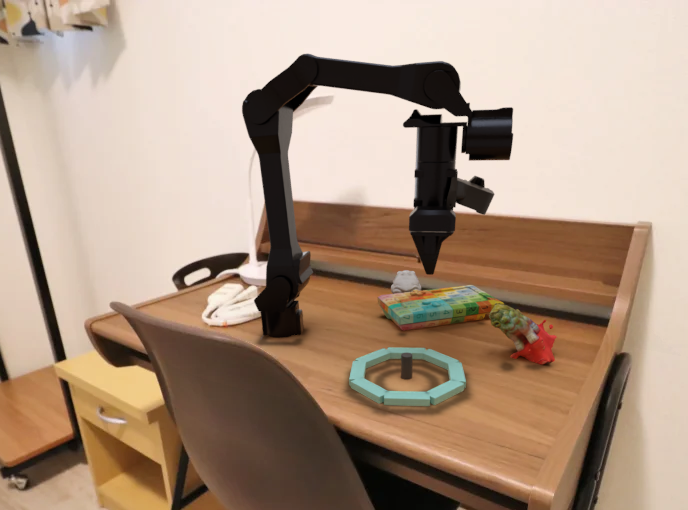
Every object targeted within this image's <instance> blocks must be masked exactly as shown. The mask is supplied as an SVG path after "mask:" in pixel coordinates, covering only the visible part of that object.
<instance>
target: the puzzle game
mask: <svg viewBox="0 0 688 510" xmlns="http://www.w3.org/2000/svg"><path fill="white" fill-rule="evenodd" d="M376 300H377V303H376V304H377V305H378V306H379V308H380V309H381V310H382V313H383V314H384V316H385V317H386V319H387V320H391V321H392V322H393V323H394V324H395V325H396V326H397V327H398V328H399V329H400V330H401V331H410V330H416V329H423V328H430V327H431V328H432V327H437V326H438V327H439V326H445V325H452V324H458V323H459V324H460V323H465V322H473V321H479V320H482V321H483V320H484V319H485V317H486V315H487V314H490V312H491V311H492V309H493V308H494V306H495V305H497V304H503V305H505V303H504V302H503V301H501V300H499V299H498V298H496V297H494V296H492V295H491V294H489V293H487V292H486V291H484V290H482V289H481V288H478V287H477V286H475V285H473V284H467V285H460V286H459V285H458V286H451V287H443V288H442V287H441V288H433V289H432V288H431V289H423V290H421V291H418V290H413V292H405V293H396V294H393V293H389V294H381V295H379V296H377V299H376Z"/></svg>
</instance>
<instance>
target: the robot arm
mask: <svg viewBox="0 0 688 510" xmlns="http://www.w3.org/2000/svg"><path fill="white" fill-rule="evenodd" d="M318 87H326V88H333V89H342V90H349V91H355V92H356V91H357V92H366V93H373V94H381V95H389V96H393V97H396V98H398V99H401V100H404V101H407V102H410V103H412V104H416V105H419V106H421V107H425V108H428V109H432V110H446V111H447V112H448V113H450V114H451V115H453V116H454V117H457V118H458V117H467V121H449V122H448V121H447V122H444V121H443V114H442V113H439V114H438V113H437V114H434V113H433V114H422V113H421V111H420V110H419V109H417V108H416V109H413V111H412V113H411V114H410V116H409V117H408V118H407V119H406V120H405V121H404V122H403V123H402V127H403V128H405V129H409V128H411V129H412V128H416V139H415V141H416V144H415V167H414V168H415V169H414V177H413V178H414V198H413V205H412V206H413V210H412V211H411V212H410V213H409V217H408V231H409V234H410V236H411V238H412V241H413V243H414V246H415V249H416V251H417V253H418V256H419V259H420V261H421V264H422V267H423V270H424V272H425V274H426V275H429V276H433V275H434V274H435V270H436V266H437V263H438V259H439V255H440V252H441V248H442V245H443V242H445V240H447V239H448V238H449V237H451V236H453V234H454V233H455V232H456V223H457V222H456V220H457V215H456V212H455V211H454V208H457V207H456V206H457V205H460V206H462V207H464V208H469V209H470V210H474V211H475V212H476V213H478V214H480V215H483V216H485V215H486V214H487V212H488V209H489V207H490V205H491V203H492V201H493V199H494V196H495V192H494V191H493V190H492V189H490V187H489V188H488V187H485V186H486V185H485V179H484V178H483V177H480V176H477V175H474V176H473V177H472V178H470V179H469V180H467V179H462V178H460V177H458V169H457V168H456V164H457V149H458V148H457V147H458V146H457V145H458V131H459V127H462V135H461V146H460V147H461V150H460V153H461V154H465V155H468V161H471V162H472V161H474V162H475V161H510V160H511V156H512V149H513V142H514V133H513V117H514V116H513V115H514V107H512V106H511V107H510V106H509V107H500V108H495V109H471V103H470V102H467V101H466V100H465V98H464V96H463V95H462V94H461V87H462V82H461V78H460V74H459V72H458V71H457V69H456V68H455V66H454V65H453V64H451V63H450V62H447V61H443V60H437V61H436V60H435V61H424V62H414V63H407V64H406V63H405V64H397V65H395V64H394V65H390V64H381V63H374V62H372V63H371V62H365V61H355V60H349V59H341V58H332V57H331V58H330V57H324V56H323V57H322V56H317V55H315V54H312V53H303V54H300V55H299V56H298V57H297V58H296V59H295V60H294V61H293V62H292V63H291V64H290V65H289V66H288V67H286V68H285V69H284V70H282V71H281V72H280V73H279V74H277V75H276V76H274V77H273V78H271V80H269V81H268V82H267V83H266V84H265V85H264V86H263V87H262V88H257V89H253V90H252V91H251V92H249V93H248V94H247V95H246V96H245V98H244V100H243V101H242V104H241V114H242V118H243V121H244V125H245V128H246V132H247V134H248V138H249V140H250V141H251V144H252V146H253V148H254V149H255V151H256V153H257V156H258V160H259V161H258V162H259V168H260V176H261V184H262V192H263V200H264V207H265V214H266V223H267V230H268V231H267V232H268V238H269V245H270V246H269V252H268V257H267V262H266V266H265V267H266V268H265V288H264V289H262V291H261V292H260V293H259V294H258V295H257V296H256V297H255V298H254V299H253V303H254V305H255V307H256V309H257V311H258V312H260V318H261V319H260V321H261V328H262V336H267V337H270V338H275V339H285V338H289V337H293V336H295V337H296V336H301V335H302V334H303V332H304V326H305V325H304V314H303V310H302V309H301V308H300V303H299V300H297V299H298V298H299V297H300V295H301V292H303V290H305V288H306V287H307V286H308V284H309V282H310V281H311V280H310V279H311V276H312V275H313V274H314V271H313V269H312V266H311V251H310V250H307V251H306V250H305V251H303V250H302V248H301V246H300V245H299V241H298V235H297V225H296V217H295V216H296V215H295V207H294V199H293V189H292V180H291V179H292V178H291V171H290V170H291V169H290V160H289V148H290V144H291V140H292V134H293V123H294V112H295V111H296V110H298V108H300V107H301V106H302V105H303V104H304V103H305V102H306V100H307V99H308V98H309V96H310V95H311V94H312V93H313V92H314V91H315V90H316V89H317V88H318ZM262 339H263V337H261V338H260V340H262Z"/></svg>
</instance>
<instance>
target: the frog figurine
mask: <svg viewBox="0 0 688 510" xmlns="http://www.w3.org/2000/svg"><path fill="white" fill-rule="evenodd" d="M413 290H418V291H422V285H421V284H420V280H419V278H418V276H417V275H416V272H415V271H414V270H408V269H404V270H398V271H397V272H396V276H395V277H394V279H393V280H392V284H391V286H390V291H391V294H396V293H405V292H413Z"/></svg>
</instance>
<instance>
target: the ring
mask: <svg viewBox="0 0 688 510" xmlns="http://www.w3.org/2000/svg"><path fill="white" fill-rule="evenodd" d="M402 353H411V354H412V355H413V360H423V361H426V362H428V363H430V364H433V365H435V366H438V367H440V368H442V369H444V370H447V374H448V381H447V380H446V382H443V383H441V384H439V385H437V386H435V387H433V388H430V389H428V390H427V391H415V390H414V391H413V390H411V391H410V390H407V391H406V390H387V389H385V388H383V387H381V386H380V385H378V384H376V383H374V382H372V381H370V380H369V379H366V372H367V369H368V368H371V367H373V366H376V365H378V364H381V363H383V362H385V361H388V360H401V354H402ZM348 386H350V388H351V389H352V390H354V391H356V392H357V393H359V394H361V395H362V396H365V397H366V398H368V399H370V400H372V401H373V402H374V403H377V404H379V405H381V404H382V403H383V406H402V407H403V406H404V407H405V406H406V407H407V406H408V407H431V405H433V406H436V405H438V404H441V403H443V402H444V401H446V400H448V399H450V398H453V397H454V396H456V395H458V394H460V393H462V392H464V391H465V389H466V388H467V380H466V375H465V371H464V367H463V362H461V361H460V360H459V359H456V358H453V357H452V356H449V355H447V354H443V353H442V352H439V351H437V350H435V349H431V348H428V349H426V347H400V346H399V347H398V346H397V347H396V346H395V347H392V346H391V347H390V346H389V347H387V348H384V347H382V348H379V349H377V350H374V351H373V352H369V353H367V354H364V355H362V356H358V357H357V358H355V359H354V360H352V363H351V368H350V373H349V378H348Z"/></svg>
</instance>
